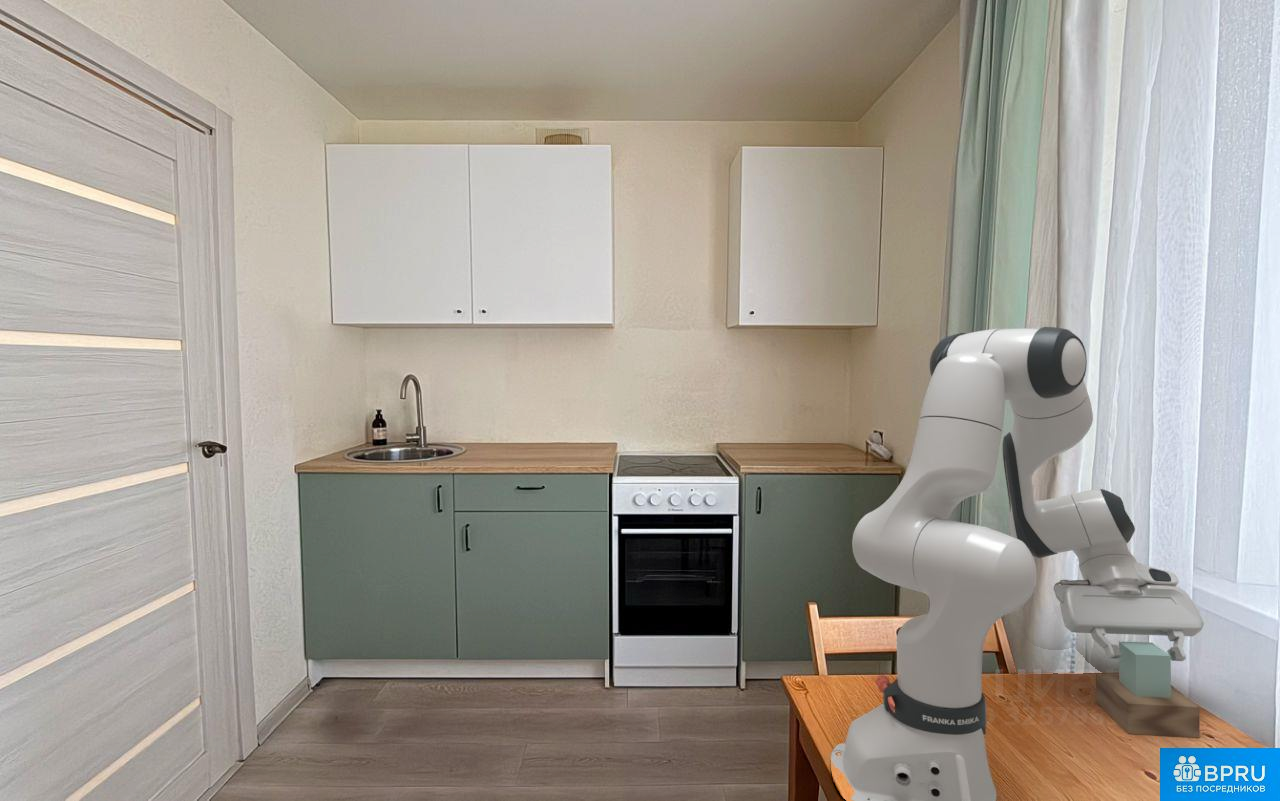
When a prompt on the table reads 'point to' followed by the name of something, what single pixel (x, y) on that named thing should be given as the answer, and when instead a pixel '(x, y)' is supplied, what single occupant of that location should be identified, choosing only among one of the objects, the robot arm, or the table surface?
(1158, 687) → the sage block
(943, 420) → the robot arm
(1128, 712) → the walnut block
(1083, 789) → the table surface
